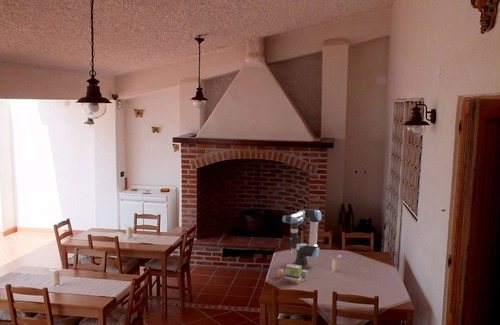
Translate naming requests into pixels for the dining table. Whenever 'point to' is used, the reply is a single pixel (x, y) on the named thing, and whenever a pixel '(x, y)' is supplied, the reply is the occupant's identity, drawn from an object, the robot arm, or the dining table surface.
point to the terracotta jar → (280, 273)
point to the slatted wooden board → (293, 281)
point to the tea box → (293, 272)
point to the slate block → (304, 273)
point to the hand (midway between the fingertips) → (294, 251)
